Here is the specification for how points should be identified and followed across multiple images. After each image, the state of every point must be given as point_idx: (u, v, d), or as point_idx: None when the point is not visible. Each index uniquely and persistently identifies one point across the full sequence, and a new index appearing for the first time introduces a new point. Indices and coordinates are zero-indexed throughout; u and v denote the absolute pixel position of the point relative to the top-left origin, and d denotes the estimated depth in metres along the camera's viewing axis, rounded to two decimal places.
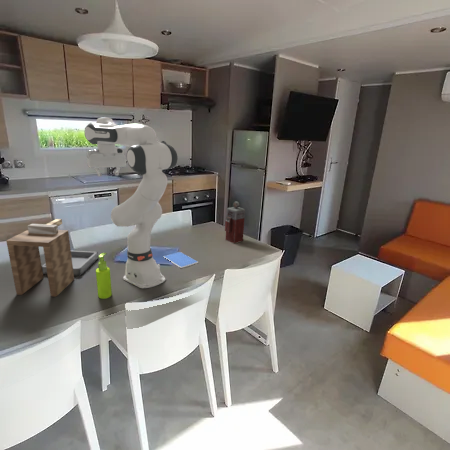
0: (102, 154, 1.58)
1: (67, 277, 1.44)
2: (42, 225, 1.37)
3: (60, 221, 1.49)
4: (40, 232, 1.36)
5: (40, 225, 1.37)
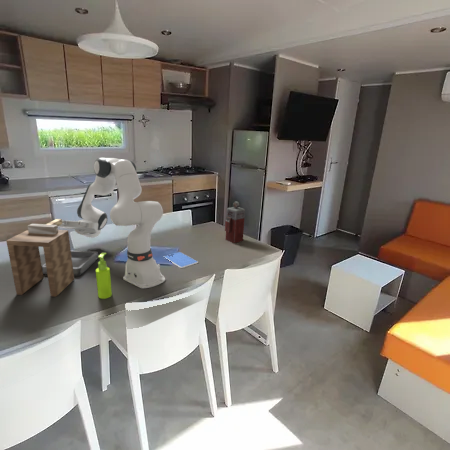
0: None
1: (67, 277, 1.44)
2: (42, 225, 1.37)
3: (60, 221, 1.49)
4: (40, 232, 1.36)
5: (40, 225, 1.37)
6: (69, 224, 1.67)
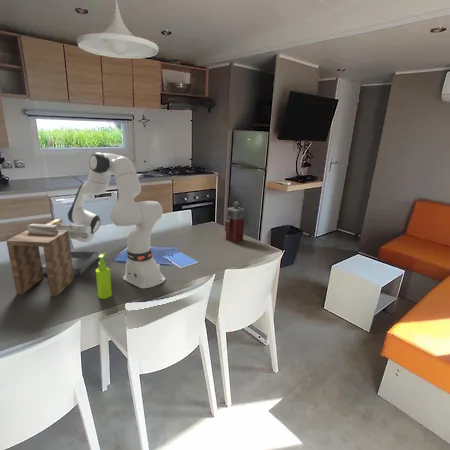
0: None
1: (67, 277, 1.44)
2: (42, 225, 1.37)
3: (60, 221, 1.49)
4: (40, 232, 1.36)
5: (40, 225, 1.37)
6: (60, 228, 1.58)
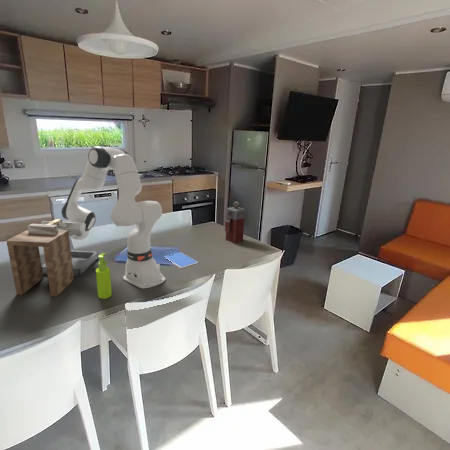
0: None
1: (67, 277, 1.44)
2: (42, 225, 1.37)
3: (60, 221, 1.49)
4: (40, 232, 1.36)
5: (40, 225, 1.37)
6: None
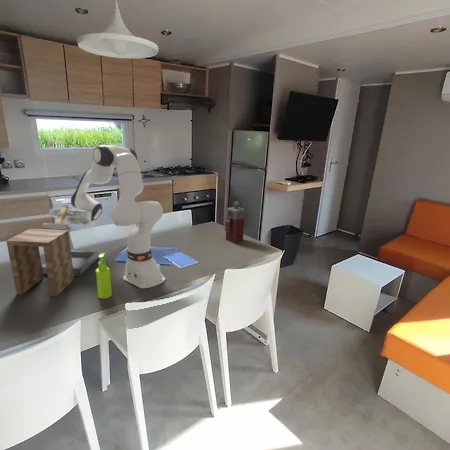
0: None
1: (67, 277, 1.44)
2: (54, 226, 1.46)
3: (67, 208, 1.55)
4: None
5: (52, 226, 1.46)
6: None
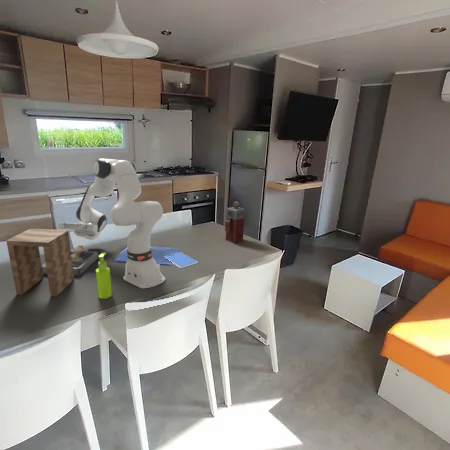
0: None
1: (67, 277, 1.44)
2: None
3: (82, 248, 1.73)
4: None
5: None
6: (68, 226, 1.66)
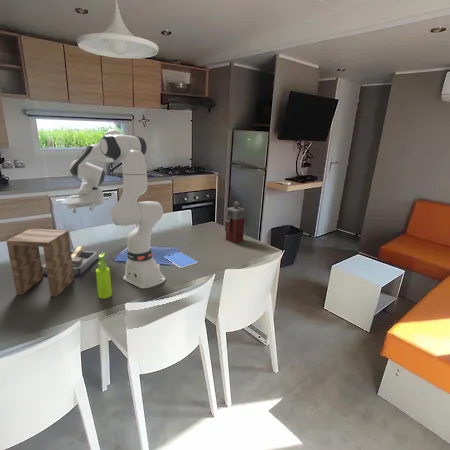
0: (79, 194, 1.70)
1: (67, 277, 1.44)
2: None
3: (82, 248, 1.73)
4: None
5: None
6: (78, 205, 1.68)
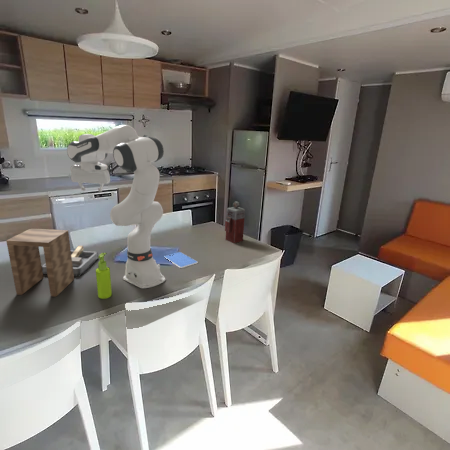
0: (82, 170, 1.60)
1: (67, 277, 1.44)
2: None
3: (82, 248, 1.73)
4: None
5: None
6: None
